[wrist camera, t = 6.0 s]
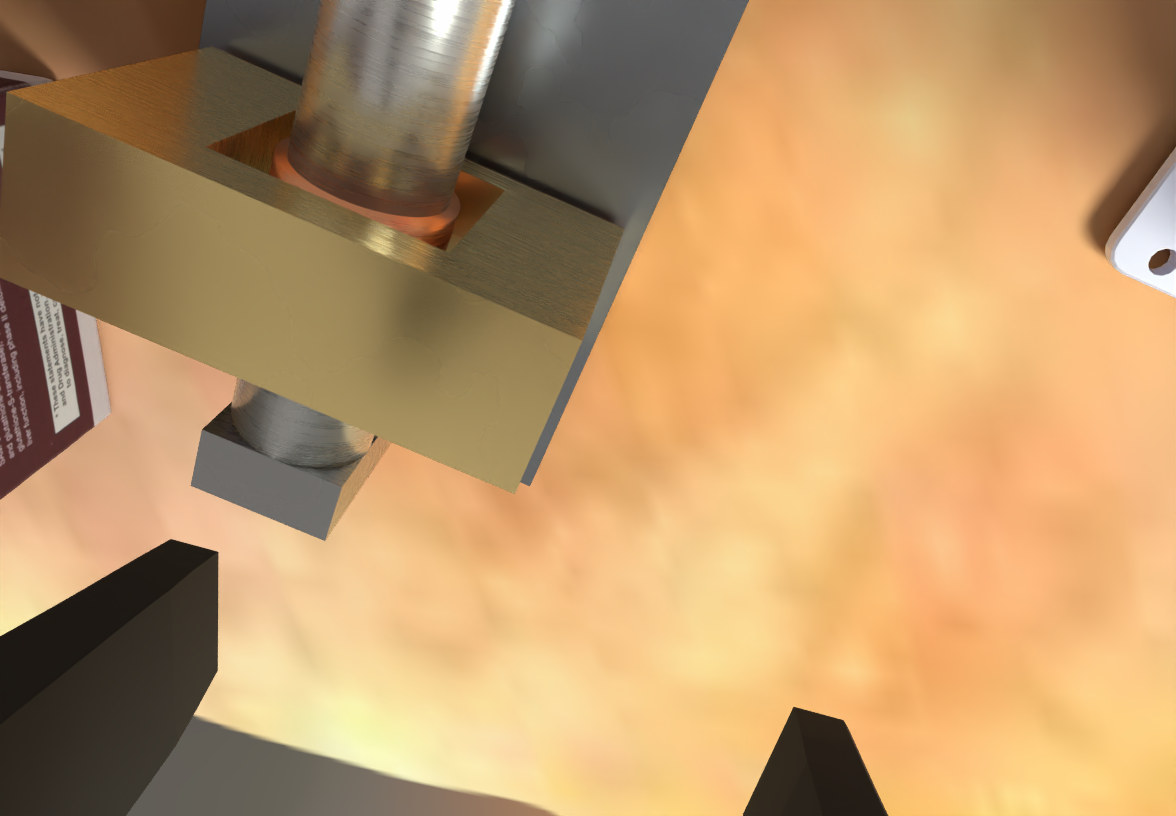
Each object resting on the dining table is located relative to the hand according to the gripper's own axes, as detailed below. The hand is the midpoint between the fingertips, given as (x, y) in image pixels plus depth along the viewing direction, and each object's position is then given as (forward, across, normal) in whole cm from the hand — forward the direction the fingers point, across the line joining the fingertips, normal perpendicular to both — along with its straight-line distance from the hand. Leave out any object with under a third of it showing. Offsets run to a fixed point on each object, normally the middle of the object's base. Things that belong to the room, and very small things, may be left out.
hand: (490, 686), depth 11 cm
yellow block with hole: (+10, +5, -2) cm, 12 cm away
